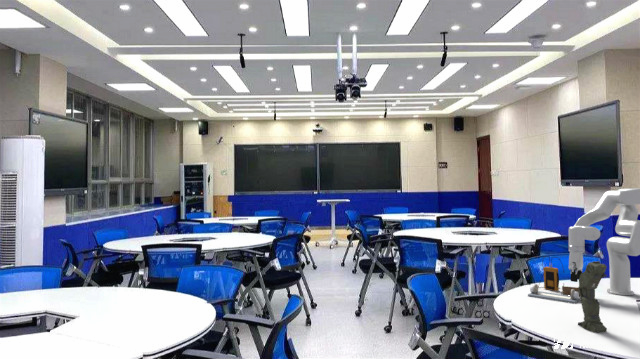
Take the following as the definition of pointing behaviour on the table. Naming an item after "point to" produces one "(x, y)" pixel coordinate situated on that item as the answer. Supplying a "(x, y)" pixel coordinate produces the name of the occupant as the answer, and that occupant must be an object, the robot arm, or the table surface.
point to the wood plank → (569, 290)
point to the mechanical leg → (591, 296)
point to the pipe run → (554, 295)
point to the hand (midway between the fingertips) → (576, 280)
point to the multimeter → (551, 277)
